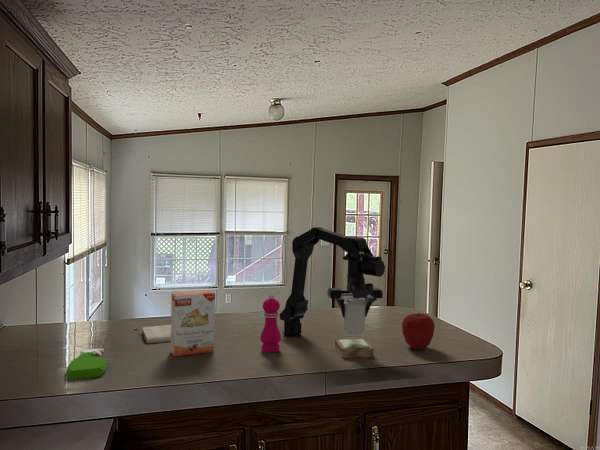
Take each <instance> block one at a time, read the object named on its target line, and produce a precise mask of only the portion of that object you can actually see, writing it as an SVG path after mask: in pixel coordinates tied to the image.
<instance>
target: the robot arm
mask: <svg viewBox="0 0 600 450" xmlns="http://www.w3.org/2000/svg"><path fill="white" fill-rule="evenodd" d="M320 241H324V242H327V243H329V244H332V245H335V246H337V247H340V248H341V250H342V251H344V252H345V253H346V254H345V255H344V256H343V257H342V260H345V261H347V274H346V287H345V288H346V289H345V290H343V289H341V288H340V287H329V288H328V289H327V294H326V295H327V297H329V298H330V299H332V300H335V301H336V302H337V305H338V307H339V310H340V314H341V316H342V317H341V318H343V319H344V315H345V312H344V302H345V299H344V296H346V297H347V296H348V297H354V298H363V299H364V302H365V318H367V316H368V313H369V311H370V308H371V307H372V304H373V303H374V302H375V301H378V299H383V298H384V292H383V290H382V289H380V288H379V287H374V284H373V283H370V282H367V283H366V281H365V280H366V279H365V275H366V276H370V277H377V278H381V277H382V276H383V275H384V274H385V272H386V271H385V270H386V265H385V263H384V260H382V259H383V258H382V256H379V255H378V256H375V255H374V254H373V252H372V251H371V248H370V247H369V245H368V242H367V240H366V238H364V237H361V236H353V235H352V236H351V235H350V236H348V235H345V234H342V233H338V232H335V231H332V230H328V229H326V228H324V227H322V226H313V227H312V228H310V229H309V230H308V231H306V232H303V233H302V234H300V235H299V236H295V237H294V238H293V239H292V241H291V243H292V244H291V245H292V247H291V249H292V251H291V252H292V254H293V256H294V265H293V275H292V285H291V291H290V295H289V296H288V298H287V300H286V302H285V306H284V309H283V310H282V311H281V312H280V313H278V317H279V320H281V321H283V322H282V323H283V327H282V328H283V330H282V335H283V337H301V336H302V322H301V319H304V317H305V314H306V313H307V311H308V310H309V308H308V305H309V300H308V299H306V298H305V294H304V293H305V286H306V280H307V279H306V278H307V269H308V262H309V258H310V257H311V256H312V253H313V251H314V248H315V245H317V244H319V242H320Z"/></svg>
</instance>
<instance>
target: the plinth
mask: <svg viewBox="0 0 600 450" xmlns="http://www.w3.org/2000/svg"><path fill="white" fill-rule="evenodd" d="M334 350H336V352H337V353H338V354H339V355H340V357H341V358H342V359H344V358H345V359H347V358H348V359H349V358H350V359H351V358H354V359H355V358H374V347H373V346H372V345H371V344H370V343H369V342H368V341H367V340H366V339H365V338H357V339H356V338H354V339H352V338H351V339H350V338H349V339H347V338H346V339H335V340H334Z"/></svg>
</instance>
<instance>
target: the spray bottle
mask: <svg viewBox="0 0 600 450" xmlns="http://www.w3.org/2000/svg"><path fill="white" fill-rule="evenodd" d="M103 352H105V348H92V349H83V350H80V352H79V353H80V354H79V355H78V356H77V357H75V358H73V359H72V360H71V361H70V363H69V364H68V366H67V369H66V376H67V378H68V379H69V380H83V379H91V378H99V377H102V376H103V374H104V372H106V370H107V364H108V363H107V360H106V359H105V358H104V357H101V356H102V355H103ZM96 355H101V356H96Z"/></svg>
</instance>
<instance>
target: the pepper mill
mask: <svg viewBox="0 0 600 450" xmlns="http://www.w3.org/2000/svg"><path fill="white" fill-rule="evenodd" d="M274 297H275V296H274V294H272V293H270V294H269V296H268V298H266V299H265V300H264V301H263V303H262V309H263V312H264V313H263V314H264V315H263V317H264V326H263V328H262V331H261V333H260V342H261V343H262V345H261V351H262V352H263V353H268V354H271V353H272V354H274V353H277V352H279V351H280V345H279V343H280V341H281V339H282V335H281V332H280V329H279V327H278V324H277V323H278V322H277V321H278V320H277V319H278V317H279V312H278V311H279V310H280V307H281V305H280V302H279V300H278V299H276V298H274Z"/></svg>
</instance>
